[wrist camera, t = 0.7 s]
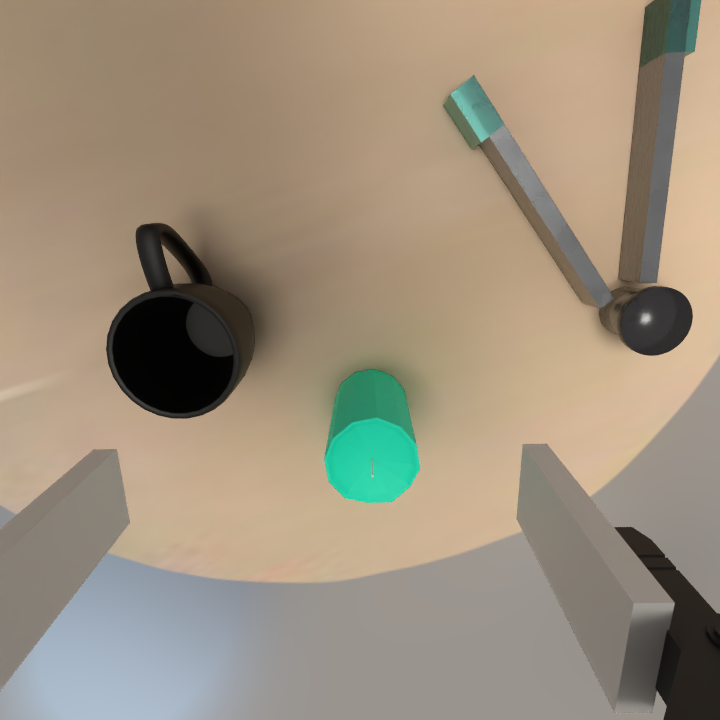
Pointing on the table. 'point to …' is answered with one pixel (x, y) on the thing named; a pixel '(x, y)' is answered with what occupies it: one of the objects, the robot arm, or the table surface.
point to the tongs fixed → (653, 185)
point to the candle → (371, 439)
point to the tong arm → (525, 189)
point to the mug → (178, 334)
